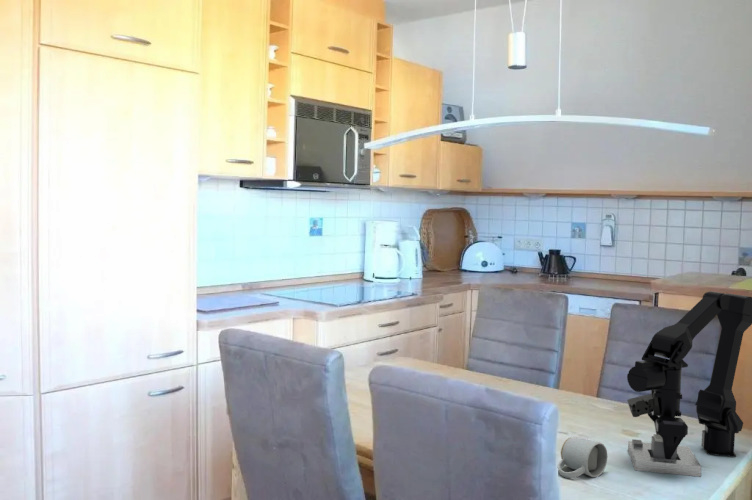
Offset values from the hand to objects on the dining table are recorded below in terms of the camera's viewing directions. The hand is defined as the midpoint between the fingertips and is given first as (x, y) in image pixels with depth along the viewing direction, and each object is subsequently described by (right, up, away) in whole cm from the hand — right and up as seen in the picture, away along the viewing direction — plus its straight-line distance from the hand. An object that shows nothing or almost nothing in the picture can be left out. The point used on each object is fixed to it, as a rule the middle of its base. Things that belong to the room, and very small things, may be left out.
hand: (664, 452), depth 165 cm
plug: (0, -3, 0) cm, 3 cm away
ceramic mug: (-21, -3, -6) cm, 22 cm away
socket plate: (0, -3, +1) cm, 3 cm away
